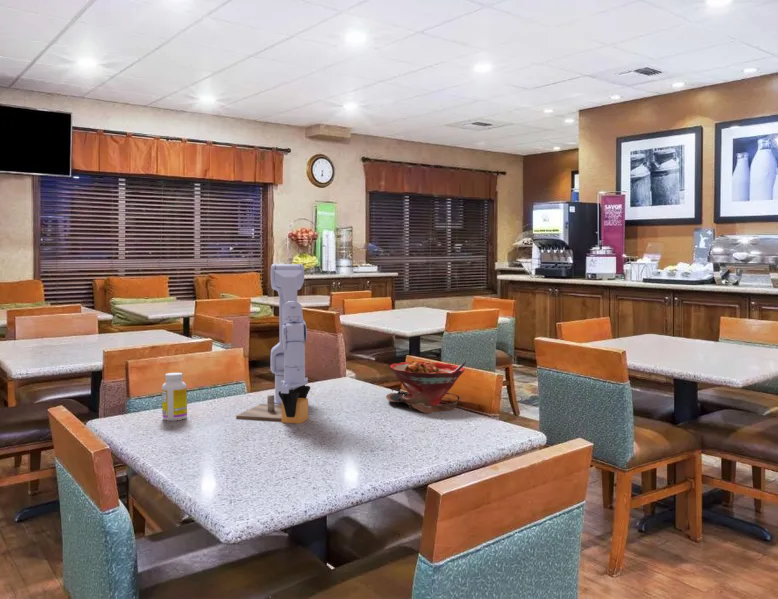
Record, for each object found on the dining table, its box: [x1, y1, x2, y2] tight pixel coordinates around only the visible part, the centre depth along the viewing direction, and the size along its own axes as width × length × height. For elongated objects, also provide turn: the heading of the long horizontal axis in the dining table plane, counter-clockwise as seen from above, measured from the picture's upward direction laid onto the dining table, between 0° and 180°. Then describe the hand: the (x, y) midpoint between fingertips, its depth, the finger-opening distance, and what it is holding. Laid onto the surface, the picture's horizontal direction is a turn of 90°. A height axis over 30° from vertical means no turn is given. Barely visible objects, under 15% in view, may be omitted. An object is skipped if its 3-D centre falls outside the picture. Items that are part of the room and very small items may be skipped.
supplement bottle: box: [161, 372, 188, 422], centre depth 186 cm, size 7×7×13 cm
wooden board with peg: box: [235, 394, 282, 422], centre depth 192 cm, size 16×14×6 cm
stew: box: [385, 358, 468, 414], centre depth 203 cm, size 28×24×16 cm
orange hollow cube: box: [280, 397, 309, 424], centre depth 183 cm, size 6×6×6 cm
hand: (294, 414), depth 183 cm, fingers closed on orange hollow cube, 6 cm apart
